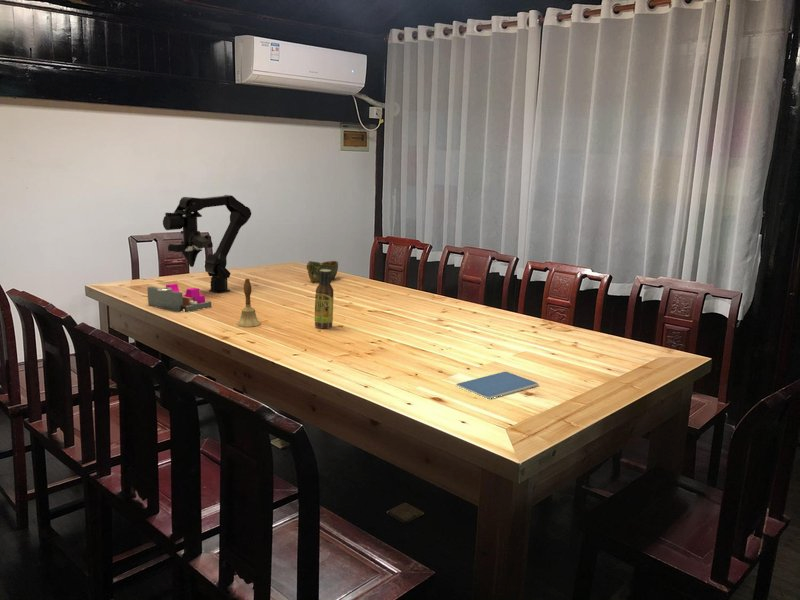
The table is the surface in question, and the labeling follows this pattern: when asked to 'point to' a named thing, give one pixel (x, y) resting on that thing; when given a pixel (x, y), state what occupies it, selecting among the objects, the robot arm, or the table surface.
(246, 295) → the hand bell
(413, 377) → the table surface
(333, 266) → the dark green lobed piece
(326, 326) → the sauce bottle
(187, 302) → the gauge plunger
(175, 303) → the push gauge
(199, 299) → the toy block
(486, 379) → the blue notebook
